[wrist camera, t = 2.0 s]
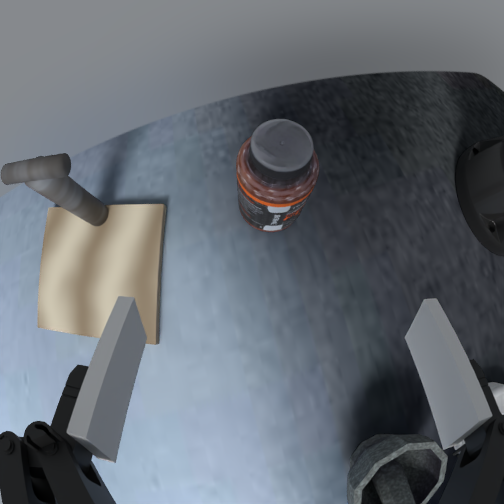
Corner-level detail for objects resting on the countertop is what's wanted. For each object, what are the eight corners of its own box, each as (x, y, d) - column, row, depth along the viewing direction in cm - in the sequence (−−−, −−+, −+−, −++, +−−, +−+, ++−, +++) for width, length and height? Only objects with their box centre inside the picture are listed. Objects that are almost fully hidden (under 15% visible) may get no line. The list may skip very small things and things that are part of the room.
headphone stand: (166, 205, 29) (115, 136, 16) (158, 343, 27) (91, 367, 14) (53, 208, 29) (-23, 162, 16) (42, 327, 26) (-46, 328, 14)
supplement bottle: (287, 243, 28) (311, 203, 17) (228, 219, 29) (216, 166, 18) (309, 189, 29) (339, 126, 18) (253, 166, 30) (255, 95, 19)
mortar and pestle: (333, 429, 25) (378, 490, 13) (416, 407, 25) (486, 443, 14) (334, 509, 23) (365, 575, 11) (409, 486, 23) (460, 535, 12)
